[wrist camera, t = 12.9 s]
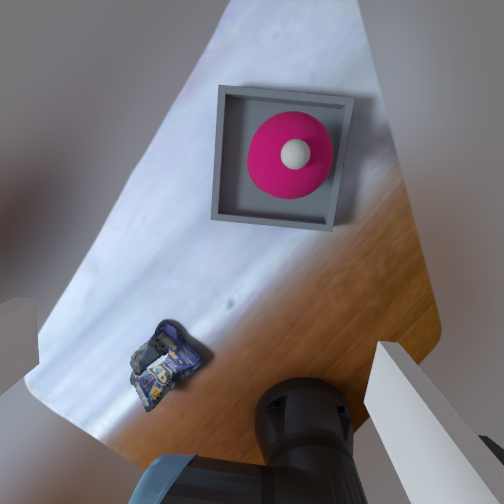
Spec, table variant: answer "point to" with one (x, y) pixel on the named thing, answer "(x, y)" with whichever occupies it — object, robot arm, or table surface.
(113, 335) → the table surface
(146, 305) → the table surface
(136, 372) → the snack package
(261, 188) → the pepper mill
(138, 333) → the table surface
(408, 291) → the table surface
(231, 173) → the tray
